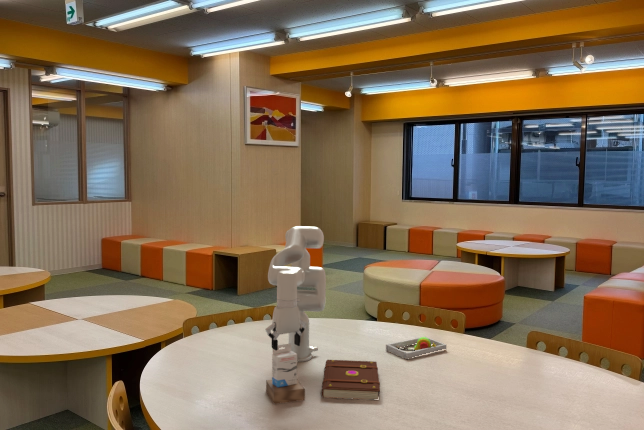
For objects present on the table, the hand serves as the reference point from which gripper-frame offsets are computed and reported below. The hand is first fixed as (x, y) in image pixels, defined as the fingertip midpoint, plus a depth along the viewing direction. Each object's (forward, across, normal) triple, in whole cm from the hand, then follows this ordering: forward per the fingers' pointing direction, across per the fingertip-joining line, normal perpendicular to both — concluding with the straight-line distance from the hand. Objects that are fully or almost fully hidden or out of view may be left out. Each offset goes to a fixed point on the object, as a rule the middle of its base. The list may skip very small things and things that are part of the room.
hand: (286, 347), depth 202 cm
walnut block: (+20, 0, 0) cm, 20 cm away
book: (+20, -29, +3) cm, 35 cm away
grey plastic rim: (+20, -81, -14) cm, 84 cm away
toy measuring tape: (+20, -81, -14) cm, 84 cm away
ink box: (+14, 0, 0) cm, 15 cm away
